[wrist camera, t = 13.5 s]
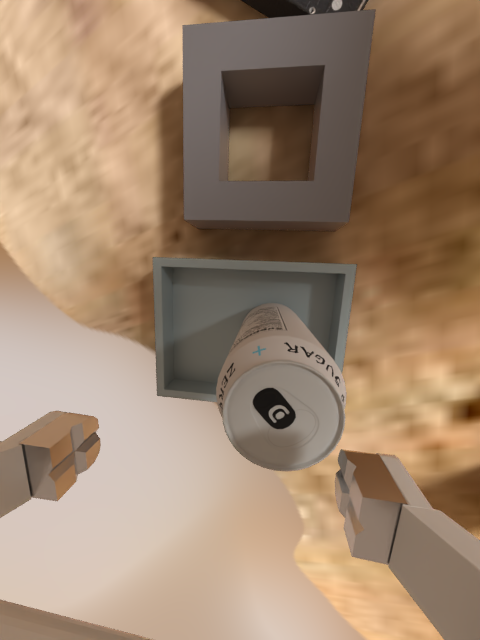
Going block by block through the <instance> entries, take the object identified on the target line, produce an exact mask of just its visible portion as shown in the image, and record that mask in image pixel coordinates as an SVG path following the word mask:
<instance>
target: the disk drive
mask: <svg viewBox="0 0 480 640" xmlns="http://www.w3.org/2000/svg"><path fill="white" fill-rule="evenodd" d="M242 1H243V2H245V3H246V4H248V5H250V6H251V7H253V8H254V9H256V10H257V11H259V12H261V13H262V14H264V15H266V16H267V17H269V18H277V17H289V16H301V15H313V14H325V13H337V12H349V11H361V10H363V9H364V7H365V5H366V3H367V2H368V0H242Z"/></svg>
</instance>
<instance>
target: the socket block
mask: <svg viewBox="0 0 480 640" xmlns="http://www.w3.org/2000/svg"><path fill="white" fill-rule="evenodd" d="M375 10H376V9H373V10H361V11H349V12H337V13H325V14H313V15H301V16H289V17H277V18H265V19H253V20H241V21H229V22H217V23H205V24H193V25H183V160H184V220H185V221H187V222H188V223H190V224H192V225H193V226H195V227H196V228H198V229H245V230H295V231H336V230H338V229H339V228H341V227H342V226H344V225H345V224H347V223H348V222H349V218H350V210H351V202H352V194H353V186H354V178H355V170H356V162H357V154H358V146H359V138H360V130H361V122H362V114H363V106H364V98H365V90H366V82H367V74H368V66H369V58H370V50H371V42H372V34H373V26H374V18H375ZM291 105H314V116H313V127H312V138H311V149H310V160H309V172H308V181H228V161H229V125H230V108H242V107H266V106H291Z"/></svg>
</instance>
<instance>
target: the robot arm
mask: <svg viewBox="0 0 480 640" xmlns="http://www.w3.org/2000/svg"><path fill="white" fill-rule="evenodd" d="M98 428H99V425H98V419H97V418H95V417H94V416H88V415H81V414H75V413H67V412H61V411H53V412H49V413H48V414H46V415H45V416H43V417H41V418H40V419H38V420H37V421H35V422H33V423H32V424H30V425H28V426H27V427H25V428H24V429H22V430H20V431H19V432H17V433H16V434H14V435H12V436H11V437H9V438H7V439H6V440H5V441H3V442H1V441H0V518H1V517H2V516H4V515H6V514H7V513H9V512H10V511H12V510H14V509H16V508H17V507H19V506H21V505H22V504H24V503H25V502H27V501H29V500H30V499H31V497H33V498H40V499H47V500H53V501H58V500H59V499H60V498H61V497H62V496H63V495H64V494H65V493H66V491H68V490H69V488H70V487H71V486H72V485H73V484H74V483H75V482H76V480H77V475H78V474H80V473H81V472H83V471H85V470H87V469H88V468H89V467H90V466H91V465H92V464H93V463H94V462H95V460H96V458H97V456H98V454H99V451H100V438H99V437H98V435H97V434H96V433H95V432H96V431H97V429H98ZM338 462H339V465H340V468H341V469H340V470H339V471H338V472H337V473H336V478H335V494H336V500H337V505H338V508H339V511H340V513H341V514H342V515H343V516H344V517H345V524H344V530H345V534H346V537H347V541H348V544H349V548H350V551H351V555H352V557H356V558H360V559H365V560H369V561H374V562H378V563H383V564H387V565H389V568H390V570H391V571H392V572H393V573H394V575H395V576H396V577H397V579H398V580H399V581H400V583H401V584H402V585H403V586H404V588H405V589H406V590H407V592H408V593H409V594H410V596H411V597H412V598H413V600H414V601H415V602H416V603H417V605H418V606H419V607H420V609H421V610H422V611H423V613H424V614H425V615H426V616H427V618H428V619H429V620H430V622H431V623H432V624H433V626H434V627H435V628H436V629H437V631H438V632H439V633H440V635H441V636H442V637H443V639H444V640H480V540H478V539H477V538H476V537H475V536H473V535H472V534H471V533H469V532H468V531H467V530H465V529H464V528H463V527H461V526H460V525H459V524H457V523H456V522H455V521H453V520H452V519H451V518H449V517H448V516H447V515H446V514H444V513H443V512H442V511H440V510H435V509H433V508H432V506H431V505H430V504H429V502H428V501H427V499H426V498H425V496H424V495H423V493H422V492H421V490H420V489H419V487H418V486H417V485H416V483H415V482H414V480H413V479H412V477H411V476H410V474H409V473H408V471H407V470H406V468H405V467H404V466H403V464H402V463H401V461H400V460H399V458H398V457H396V456H395V455H387V454H378V453H376V454H373V453H365V452H357V451H350V450H342V449H341V450H340V453H339V457H338ZM0 640H153V639H150V638H146V637H142V636H138V635H135V634H131V633H127V632H123V631H119V630H115V629H111V628H108V627H104V626H100V625H96V624H92V623H88V622H84V621H80V620H76V619H73V618H69V617H65V616H61V615H57V614H54V613H50V612H46V611H42V610H38V609H34V608H30V607H26V606H23V605H19V604H15V603H11V602H7V601H3V600H0Z"/></svg>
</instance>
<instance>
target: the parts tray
mask: <svg viewBox="0 0 480 640" xmlns="http://www.w3.org/2000/svg"><path fill="white" fill-rule="evenodd" d="M356 267H357V264H334V263H305V262H277V261H248V260H220V259H191V258H163V257H153V283H154V314H155V346H156V373H157V374H156V376H157V396H164V397H173V398H182V399H192V400H202V401H210V402H217V397H216V387H217V382H218V377H219V374H220V372H221V370H222V367H223V365H224V363H225V361H226V358H227V356H228V354H229V352H230V350H231V347H232V345H233V343H234V341H235V339H236V336H237V334H238V332H239V330H240V328H241V325H242V323H243V321H244V319H245V317H246V316H247V314H248V313H249V312H250V311H251V310H252V309H254V308H255V307H257V306H259V305H262V304H266V303H278V304H282V305H284V306H287V307H288V308H290V309H291V310H292V311H293V312H294V313H295V314H296V315H297V316H298V317H299V318H300V320H301V321H302V322H303V323H304V324H305V326H306V327H307V328H308V329H309V331H310V332H311V333H312V334H313V335H314V337H315V338H316V339H317V340H318V341H319V343H320V344H321V345H322V346H323V348H324V349H325V350H326V351H327V352H328V354H329V355H330V356H331V357H332V358H333V360H334V361H335V363H336V364H337V366H338V367H339V369H340V371H341V373H342V370H343V363H344V355H345V348H346V341H347V333H348V326H349V319H350V311H351V304H352V297H353V289H354V282H355V275H356Z"/></svg>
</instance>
